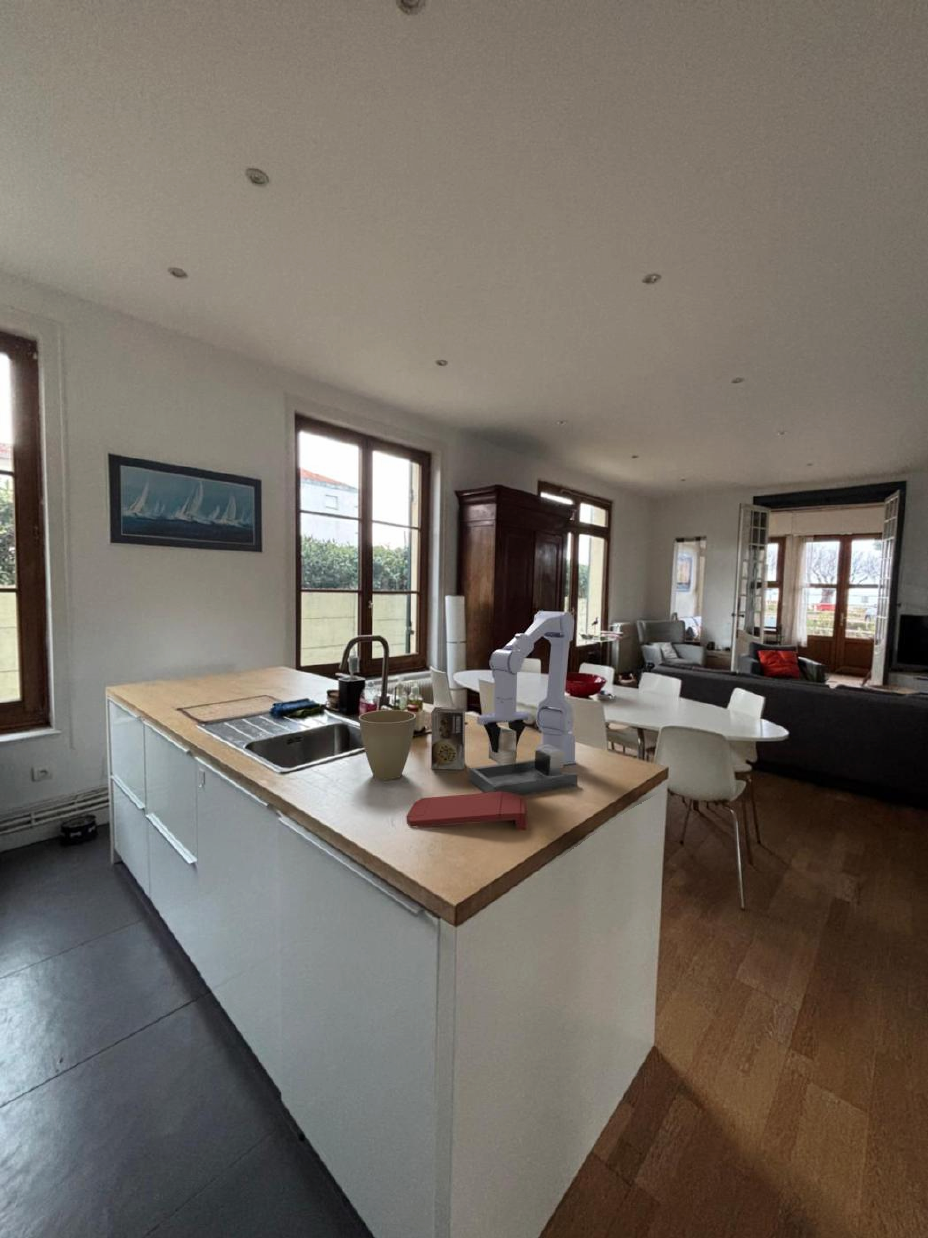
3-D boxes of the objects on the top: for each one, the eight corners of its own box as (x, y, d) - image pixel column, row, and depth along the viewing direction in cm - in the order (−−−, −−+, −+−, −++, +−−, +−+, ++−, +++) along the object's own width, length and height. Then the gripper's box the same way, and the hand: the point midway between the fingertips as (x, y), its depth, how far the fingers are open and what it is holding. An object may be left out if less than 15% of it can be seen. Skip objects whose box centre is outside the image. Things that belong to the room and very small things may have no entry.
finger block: (504, 755, 132) (504, 725, 131) (518, 763, 125) (518, 731, 125) (488, 757, 130) (488, 727, 130) (501, 765, 123) (501, 732, 123)
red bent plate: (406, 844, 104) (526, 836, 101) (403, 821, 104) (523, 812, 101) (419, 819, 116) (527, 810, 113) (416, 798, 116) (524, 789, 113)
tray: (546, 768, 141) (547, 740, 141) (577, 785, 128) (578, 754, 128) (469, 779, 131) (469, 749, 131) (494, 799, 118) (494, 766, 118)
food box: (465, 763, 144) (466, 707, 144) (463, 770, 138) (464, 712, 137) (433, 761, 145) (434, 706, 145) (430, 769, 139) (431, 711, 138)
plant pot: (404, 763, 143) (405, 707, 143) (423, 780, 130) (424, 719, 129) (352, 770, 137) (352, 712, 136) (366, 789, 123) (366, 725, 123)
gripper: (521, 692, 133) (520, 743, 134) (472, 696, 127) (471, 749, 128) (536, 697, 127) (534, 750, 127) (484, 701, 121) (483, 757, 121)
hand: (504, 750), depth 127 cm, fingers closed on finger block, 5 cm apart
